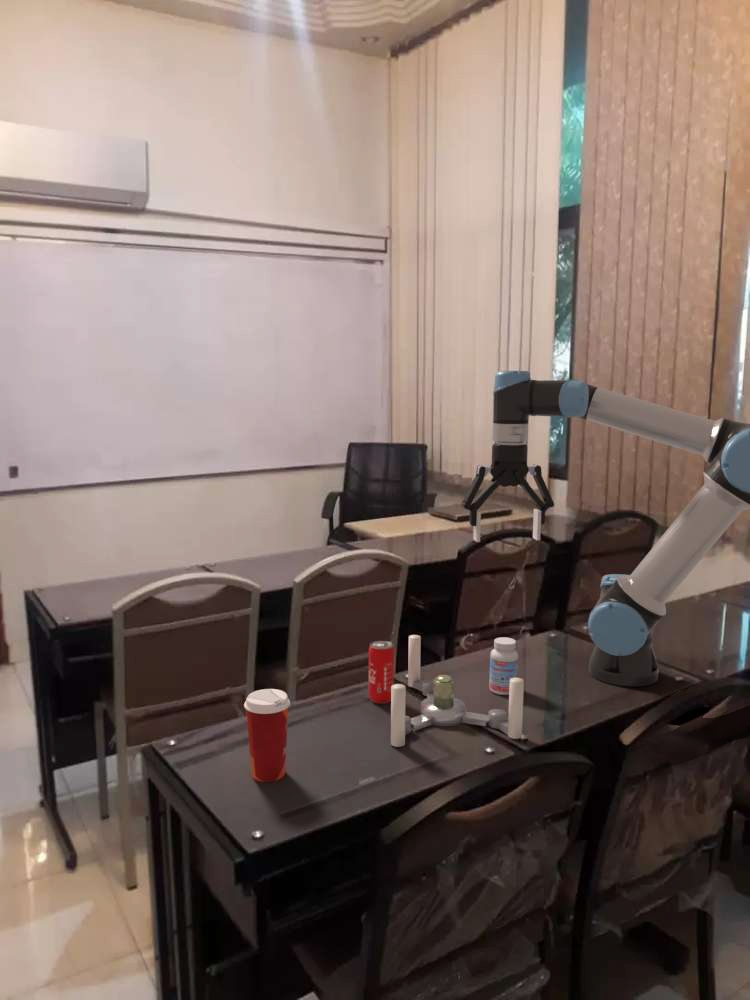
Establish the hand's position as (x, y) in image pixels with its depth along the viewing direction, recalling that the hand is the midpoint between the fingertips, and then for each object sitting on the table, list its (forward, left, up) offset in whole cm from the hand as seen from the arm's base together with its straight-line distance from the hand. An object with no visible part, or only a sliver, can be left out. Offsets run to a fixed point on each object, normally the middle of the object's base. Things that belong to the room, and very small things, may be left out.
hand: (506, 540), depth 172 cm
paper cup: (+53, +36, -32) cm, 72 cm away
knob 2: (+8, +26, -31) cm, 41 cm away
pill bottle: (+2, +7, -32) cm, 33 cm away
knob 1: (+28, +26, -32) cm, 50 cm away
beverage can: (+29, +8, -32) cm, 44 cm away
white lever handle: (+19, +5, -31) cm, 37 cm away
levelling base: (+18, +16, -32) cm, 40 cm away
